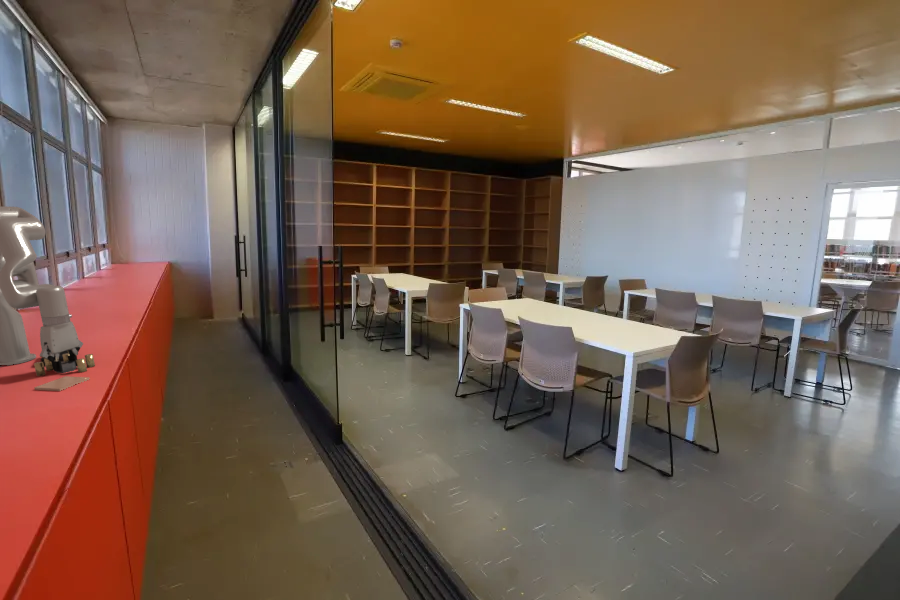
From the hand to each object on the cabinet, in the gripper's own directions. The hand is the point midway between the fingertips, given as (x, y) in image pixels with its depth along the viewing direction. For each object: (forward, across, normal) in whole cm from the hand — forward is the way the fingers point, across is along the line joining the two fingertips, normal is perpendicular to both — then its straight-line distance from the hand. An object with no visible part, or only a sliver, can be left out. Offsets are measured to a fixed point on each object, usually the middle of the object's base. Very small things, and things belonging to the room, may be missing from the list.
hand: (66, 368), depth 162 cm
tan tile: (+1, +12, +13) cm, 18 cm away
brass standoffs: (+1, 0, 0) cm, 1 cm away
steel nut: (+1, 0, 0) cm, 1 cm away
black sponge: (+2, -11, -17) cm, 20 cm away
